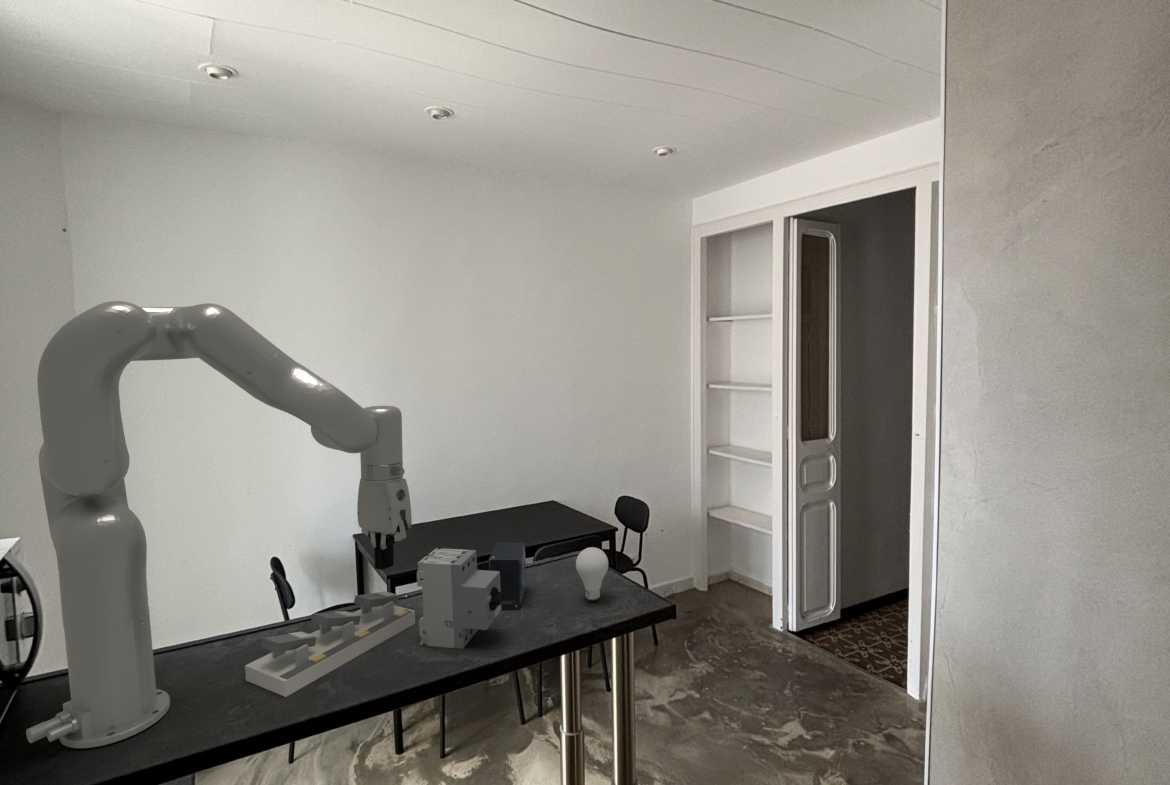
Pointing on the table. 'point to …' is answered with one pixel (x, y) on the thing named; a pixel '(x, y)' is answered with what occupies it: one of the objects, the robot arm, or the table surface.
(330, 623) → the rocker
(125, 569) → the robot arm
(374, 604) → the rocker
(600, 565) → the light bulb
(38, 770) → the table surface
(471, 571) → the circuit breaker
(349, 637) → the switch unit
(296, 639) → the rocker
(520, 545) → the small box
